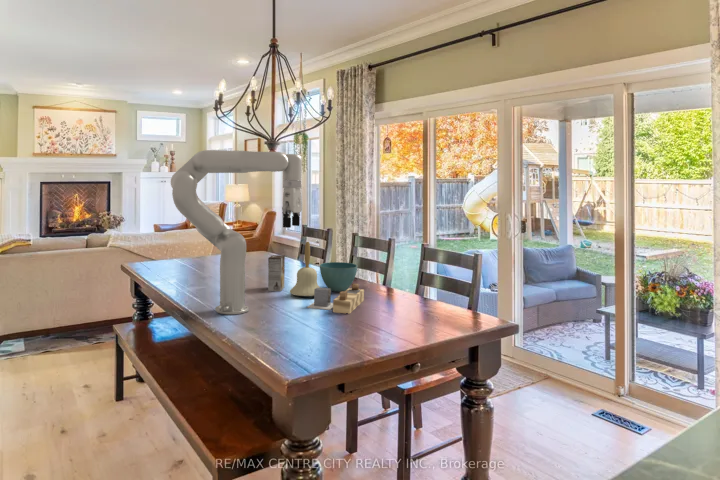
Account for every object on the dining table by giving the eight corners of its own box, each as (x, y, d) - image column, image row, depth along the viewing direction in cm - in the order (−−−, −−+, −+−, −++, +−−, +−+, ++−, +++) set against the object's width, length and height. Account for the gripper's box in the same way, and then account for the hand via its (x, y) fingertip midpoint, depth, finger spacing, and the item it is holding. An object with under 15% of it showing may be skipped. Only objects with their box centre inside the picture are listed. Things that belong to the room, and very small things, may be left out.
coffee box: (271, 287, 239) (272, 254, 237) (284, 287, 239) (285, 255, 237) (267, 291, 230) (268, 257, 228) (281, 291, 230) (281, 258, 228)
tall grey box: (327, 306, 202) (328, 290, 202) (314, 305, 204) (314, 289, 203) (330, 304, 206) (330, 288, 205) (317, 303, 208) (317, 287, 207)
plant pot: (352, 295, 227) (352, 269, 226) (314, 292, 231) (315, 266, 229) (359, 287, 245) (360, 263, 243) (324, 284, 248) (325, 261, 247)
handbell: (324, 292, 231) (325, 240, 229) (322, 299, 216) (323, 244, 213) (291, 291, 231) (292, 239, 228) (287, 298, 216) (288, 243, 213)
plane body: (349, 313, 194) (350, 294, 193) (332, 312, 196) (333, 292, 195) (363, 300, 217) (364, 282, 216) (348, 299, 219) (349, 281, 218)
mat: (330, 309, 199) (330, 309, 199) (307, 307, 201) (307, 306, 201) (337, 304, 209) (337, 303, 209) (315, 302, 211) (315, 301, 211)
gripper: (292, 184, 189) (292, 228, 191) (307, 185, 206) (307, 225, 208) (274, 184, 191) (274, 227, 193) (291, 184, 208) (290, 224, 210)
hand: (291, 226), depth 201 cm, fingers open, 9 cm apart
